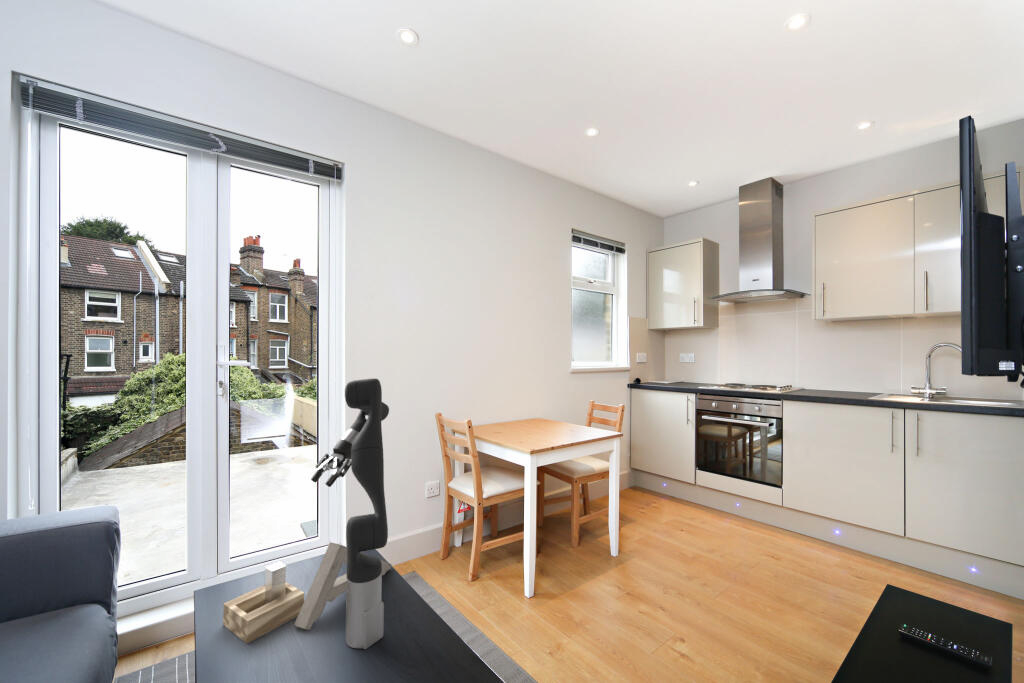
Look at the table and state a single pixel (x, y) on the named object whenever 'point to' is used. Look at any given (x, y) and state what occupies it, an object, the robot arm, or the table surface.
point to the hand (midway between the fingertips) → (320, 483)
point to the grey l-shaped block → (275, 582)
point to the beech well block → (260, 612)
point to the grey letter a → (326, 585)
